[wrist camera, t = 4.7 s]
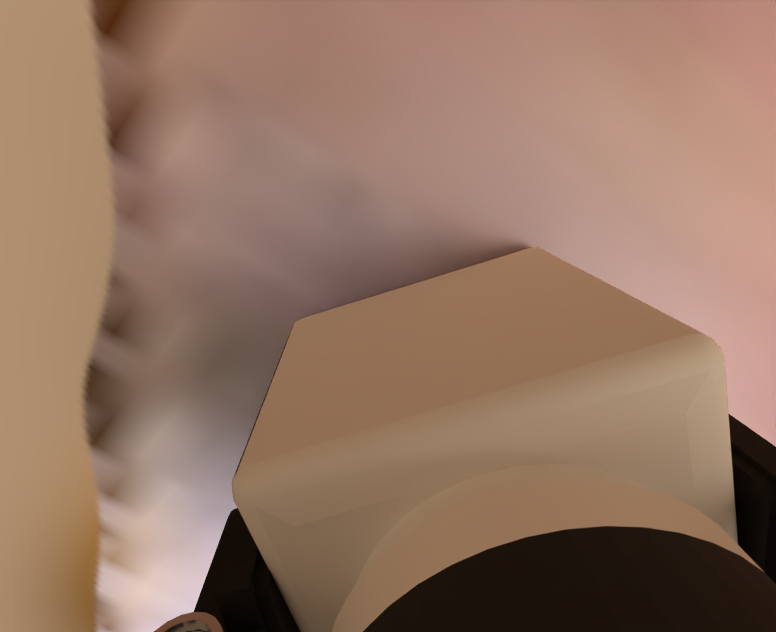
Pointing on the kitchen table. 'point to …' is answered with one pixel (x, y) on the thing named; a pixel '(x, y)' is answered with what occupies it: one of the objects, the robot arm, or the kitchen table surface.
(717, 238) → the kitchen table surface
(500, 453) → the medicine bottle
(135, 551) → the kitchen table surface
